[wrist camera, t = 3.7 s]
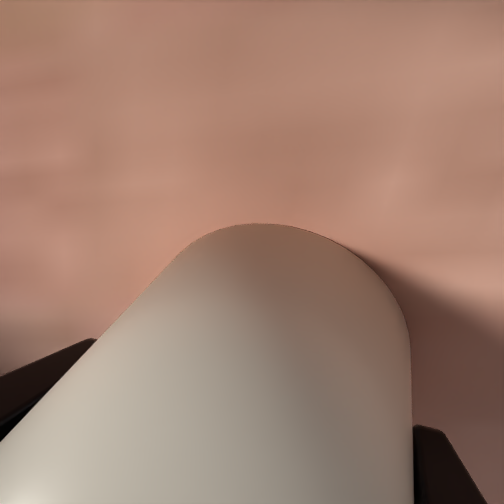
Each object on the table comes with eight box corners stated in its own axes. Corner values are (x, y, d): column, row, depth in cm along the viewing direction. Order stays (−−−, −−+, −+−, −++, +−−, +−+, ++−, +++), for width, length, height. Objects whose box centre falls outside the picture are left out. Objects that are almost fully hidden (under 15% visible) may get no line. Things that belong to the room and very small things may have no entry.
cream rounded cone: (295, 474, 10) (191, 920, 5) (116, 337, 10) (-179, 667, 5) (475, 351, 8) (608, 973, 3) (243, 163, 8) (-90, 469, 2)
